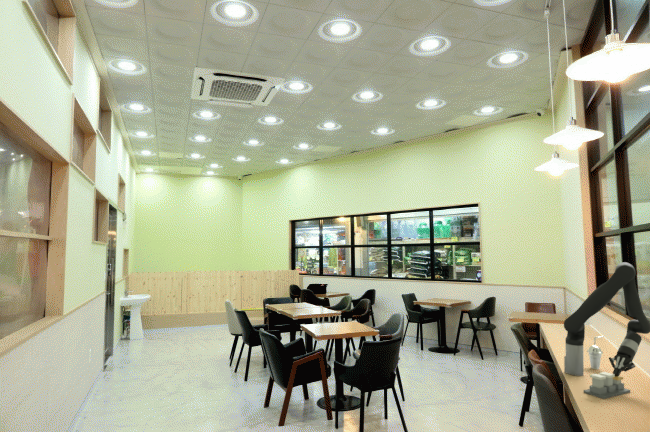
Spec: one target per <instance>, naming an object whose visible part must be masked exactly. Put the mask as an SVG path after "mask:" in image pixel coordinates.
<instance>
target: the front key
mask: <svg viewBox="0 0 650 432" xmlns="http://www.w3.org/2000/svg"><path fill="white" fill-rule="evenodd" d="M589 378H591V380H592V381H591V385H592V386H593V387H596V388H604V379H606V376H602V375H599V373H592V374H589Z"/></svg>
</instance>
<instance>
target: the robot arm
mask: <svg viewBox="0 0 650 432" xmlns="http://www.w3.org/2000/svg"><path fill="white" fill-rule="evenodd" d="M636 274H637V273H636V268H635V267H634V266H633V264H631V263H629V262H626V261H624V262H620V263H618V264H617V265H616V267H615V269H614V273H613V274H612V275H611V276H610V278H609V279H607V280H606V282H604V283H602V284H600V285H598V287H597V288H595V289H594V290H593V291H592V292H591V293H590V294H589V295H588V297H586V299H585V300H584V301H583V302H582V303H581V305H580V306H579V307H578V308H577V309H576V310H575V311H574V312H573V313H572V314H571V315H569V316H568V317H567V318H566V319H565V320H564V322H563V328H564V330H565V331H566V332H567V333H566V337H565V355H564V358H563V359H564V362H563V363H564V364H563V367H564V369H563V370H564V373H565V374H568V375H572V376H578V377H581V376H584V372H585V371H584V370H585V369H584V341H585V334H586V332H585V331H586V329H585V328H586V327H585V323H586V322H587V321H588V320H589V319H590V318H592V317H593V316H595V315H596V314H597V313H598V312H600V311H601V310H603V308H605V307H606V306H607V305H608V304H609V303H610V302H611V300H613V299H614V297H615V296H616V295H617V293H618V292H619V291H620V290H621V289H622V290H623V296H624V300H625V301H624V302H625V306H626V310H627V314H628V316H629V317H632V318H634V319H630V320H629V321H627V325H626V326H627V327H626V335H625V337H624V339H623V340H622V342H621V343H620V345H619V347H618V349H617V352H616V355H614V357H608V360H609V362H610V364H611V367H612V368H613V370H612V374H615V376H617V377H618V376H620V375H621V374H622V372H625V373H626V372H628V371H630V370H632V369H634V368H636V364H635V363H634V362H633V361H634V358H635V356H636V354H637V352H638V349H639V346H640V344H641V342H642V339H643V338H642V336H641V335H640V334H642V335H643V334H644V335H647V334H648V335H649V333H650V321H649V319H648V317H646V314H645V312H644V310H643V306H642V302H641V298H640V295H639V293H638V290H637V285H636V278H635V277H636Z"/></svg>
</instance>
